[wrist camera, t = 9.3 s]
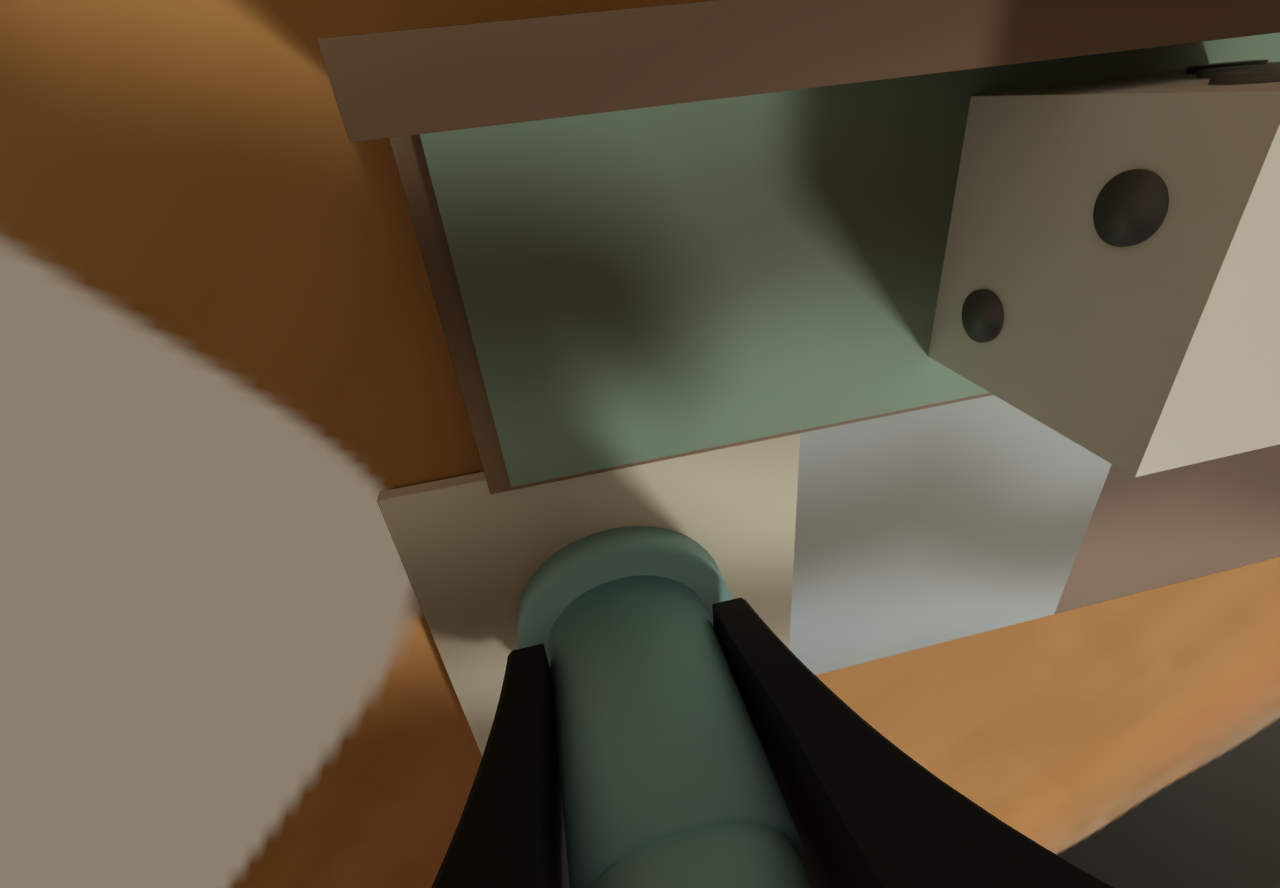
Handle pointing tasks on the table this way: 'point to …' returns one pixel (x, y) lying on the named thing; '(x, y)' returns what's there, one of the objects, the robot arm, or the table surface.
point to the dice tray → (714, 201)
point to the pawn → (653, 721)
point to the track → (848, 534)
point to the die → (1123, 261)
